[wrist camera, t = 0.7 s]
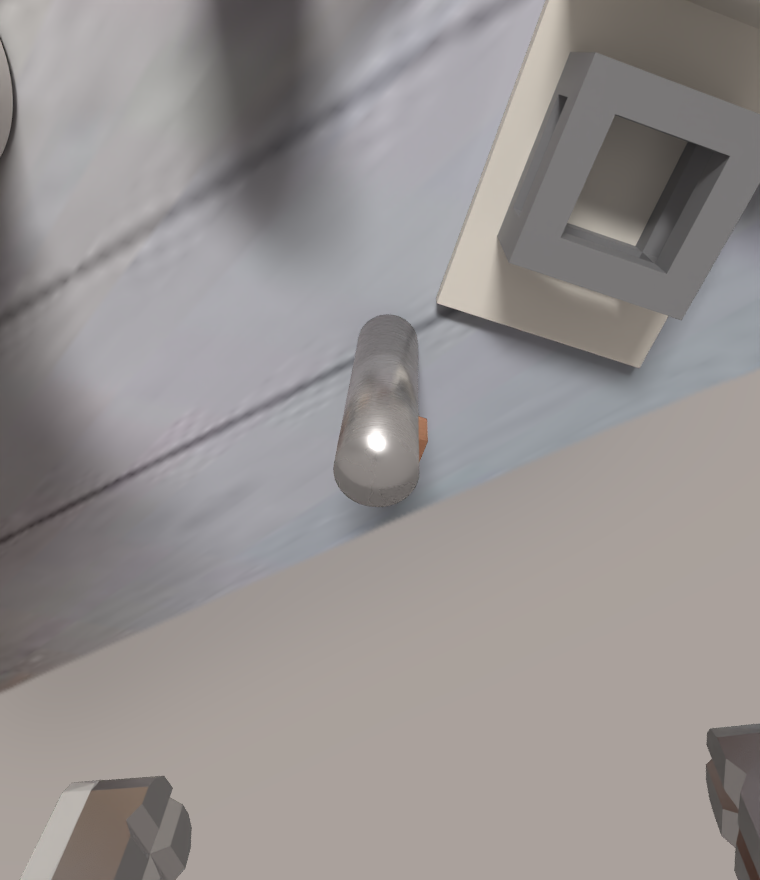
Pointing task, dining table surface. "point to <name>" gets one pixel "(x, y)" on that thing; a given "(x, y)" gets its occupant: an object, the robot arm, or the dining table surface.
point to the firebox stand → (614, 172)
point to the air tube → (382, 416)
